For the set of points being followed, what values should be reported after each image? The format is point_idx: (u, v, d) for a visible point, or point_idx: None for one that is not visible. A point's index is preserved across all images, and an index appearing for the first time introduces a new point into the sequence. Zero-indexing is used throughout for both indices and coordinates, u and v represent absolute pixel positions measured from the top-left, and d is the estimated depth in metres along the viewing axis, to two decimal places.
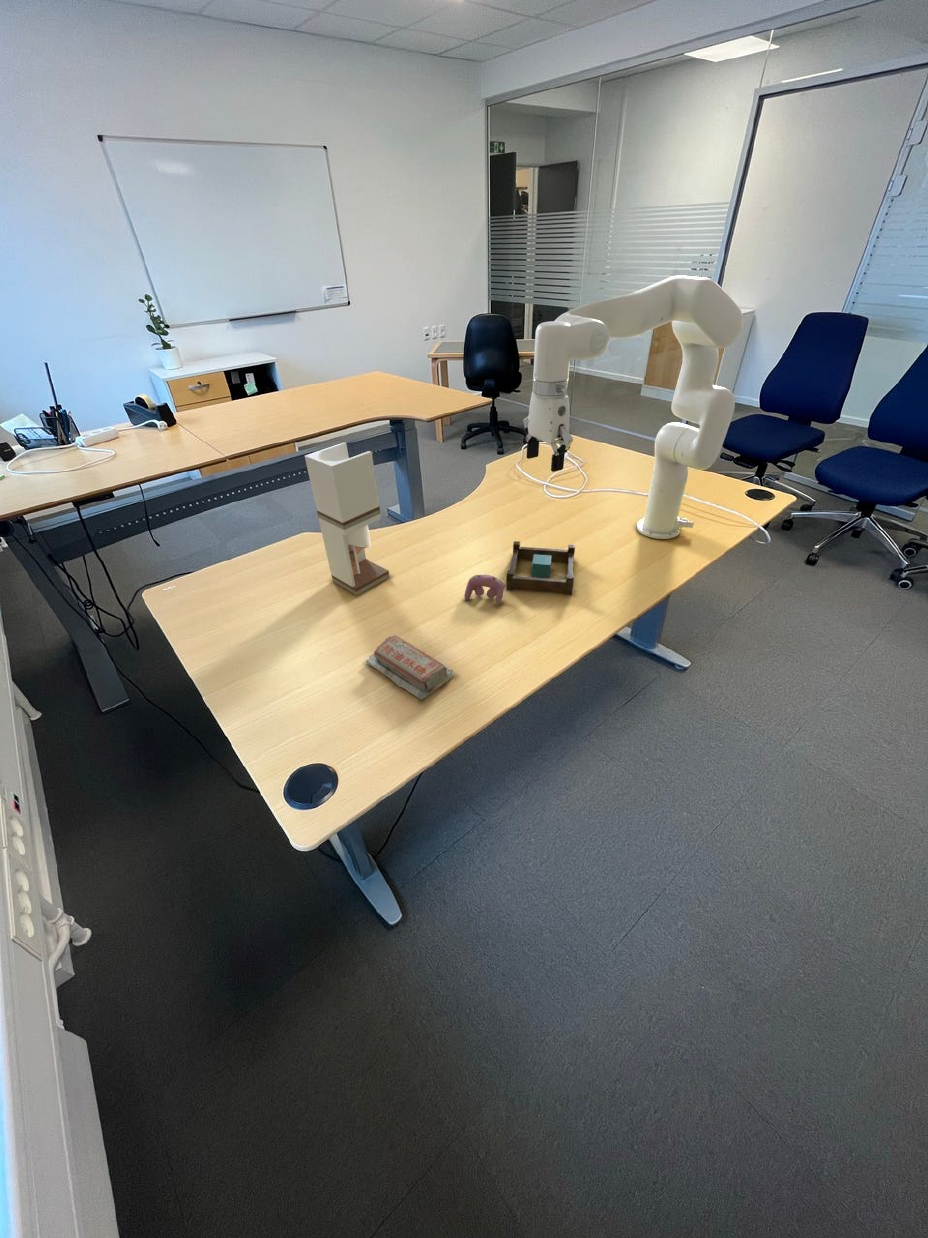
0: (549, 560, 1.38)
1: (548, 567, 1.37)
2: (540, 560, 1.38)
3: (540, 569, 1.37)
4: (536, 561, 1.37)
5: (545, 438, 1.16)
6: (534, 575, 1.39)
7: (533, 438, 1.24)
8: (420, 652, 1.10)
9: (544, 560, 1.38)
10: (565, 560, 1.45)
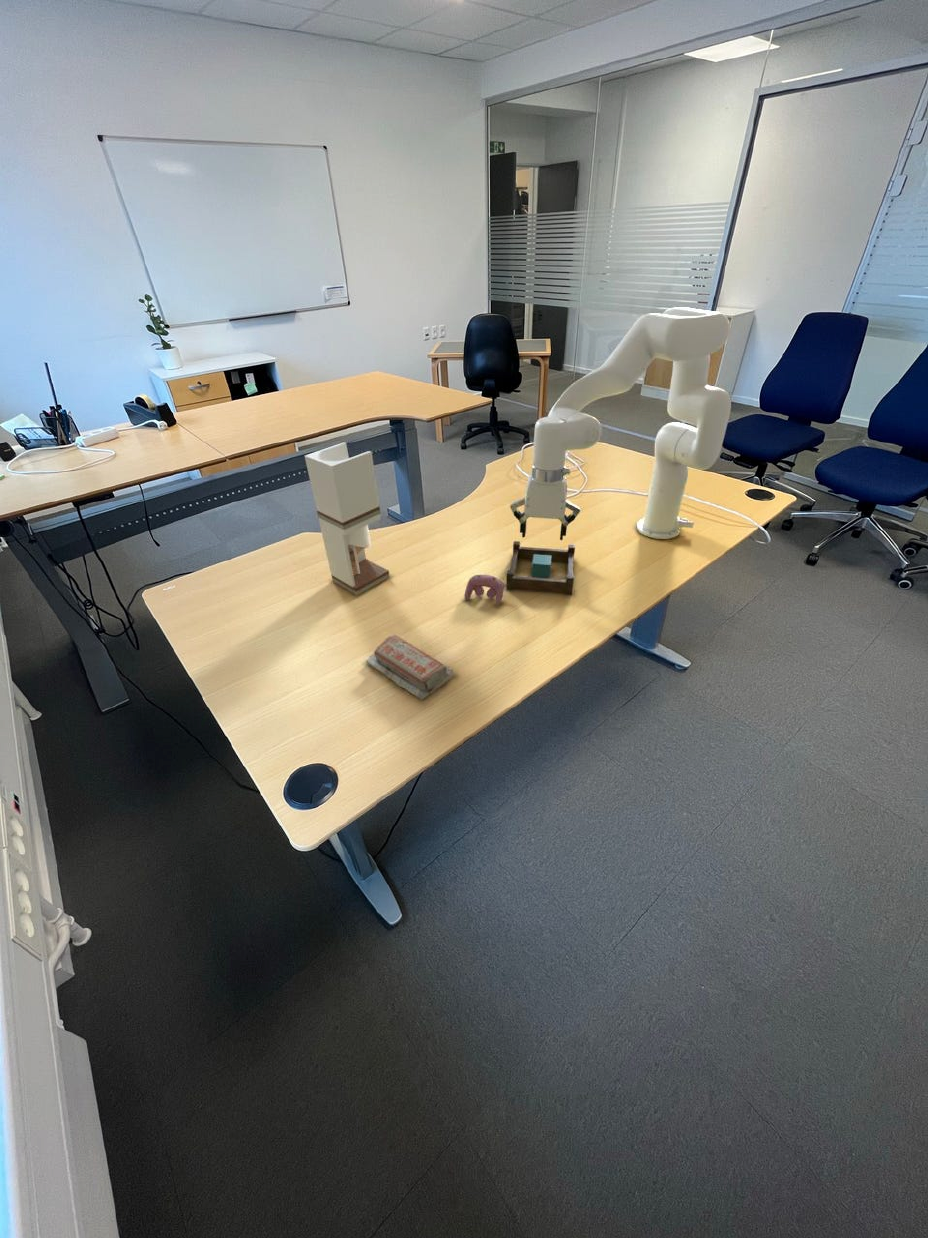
0: (549, 560, 1.38)
1: (548, 567, 1.37)
2: (540, 560, 1.38)
3: (540, 569, 1.37)
4: (536, 561, 1.37)
5: (553, 515, 1.27)
6: (534, 575, 1.39)
7: None
8: (420, 652, 1.11)
9: (544, 560, 1.38)
10: (565, 560, 1.45)
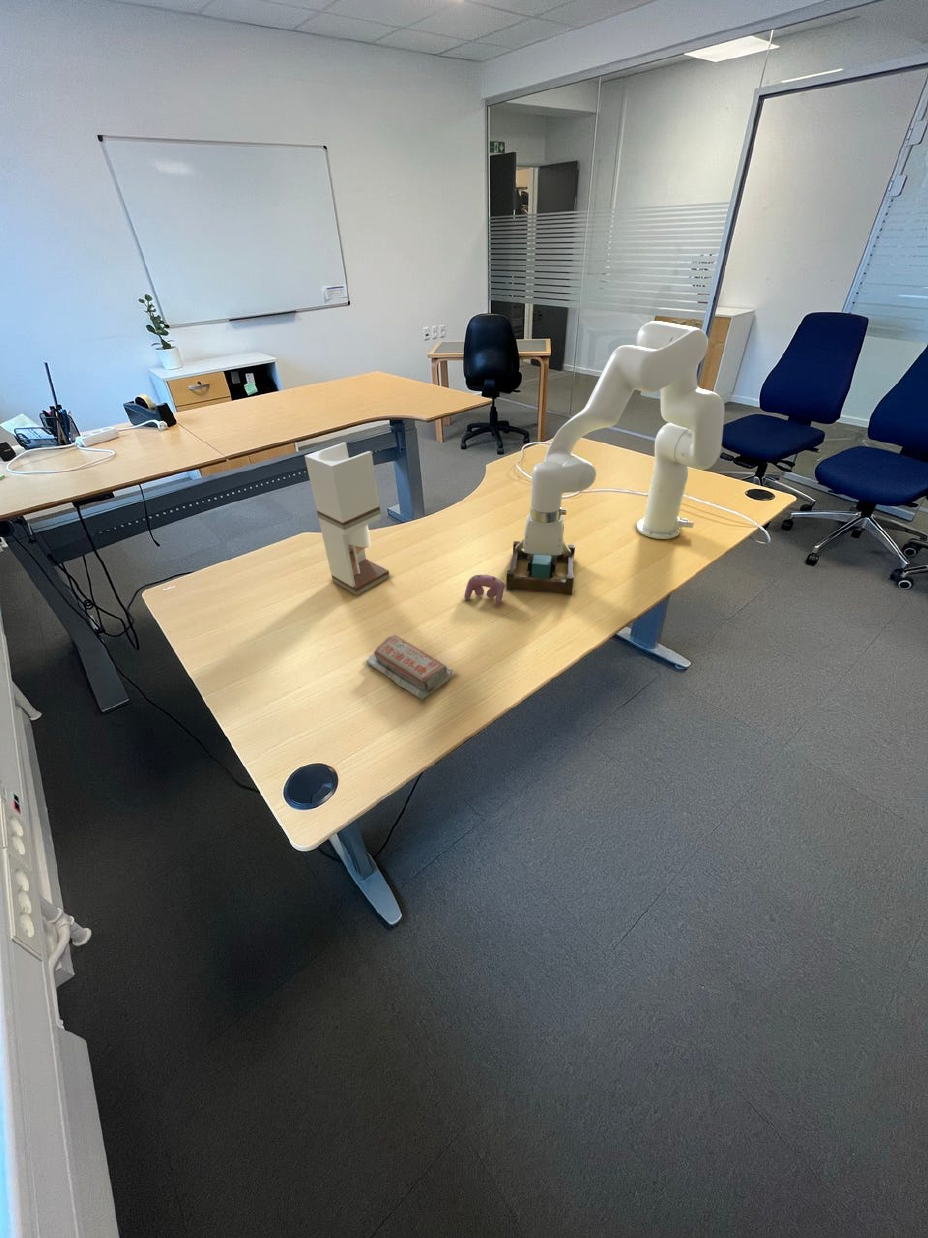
0: (549, 560, 1.38)
1: (548, 567, 1.37)
2: (540, 560, 1.38)
3: (540, 569, 1.37)
4: (536, 561, 1.37)
5: (551, 552, 1.34)
6: (534, 575, 1.39)
7: (531, 558, 1.39)
8: (420, 652, 1.11)
9: (544, 560, 1.38)
10: (565, 560, 1.45)
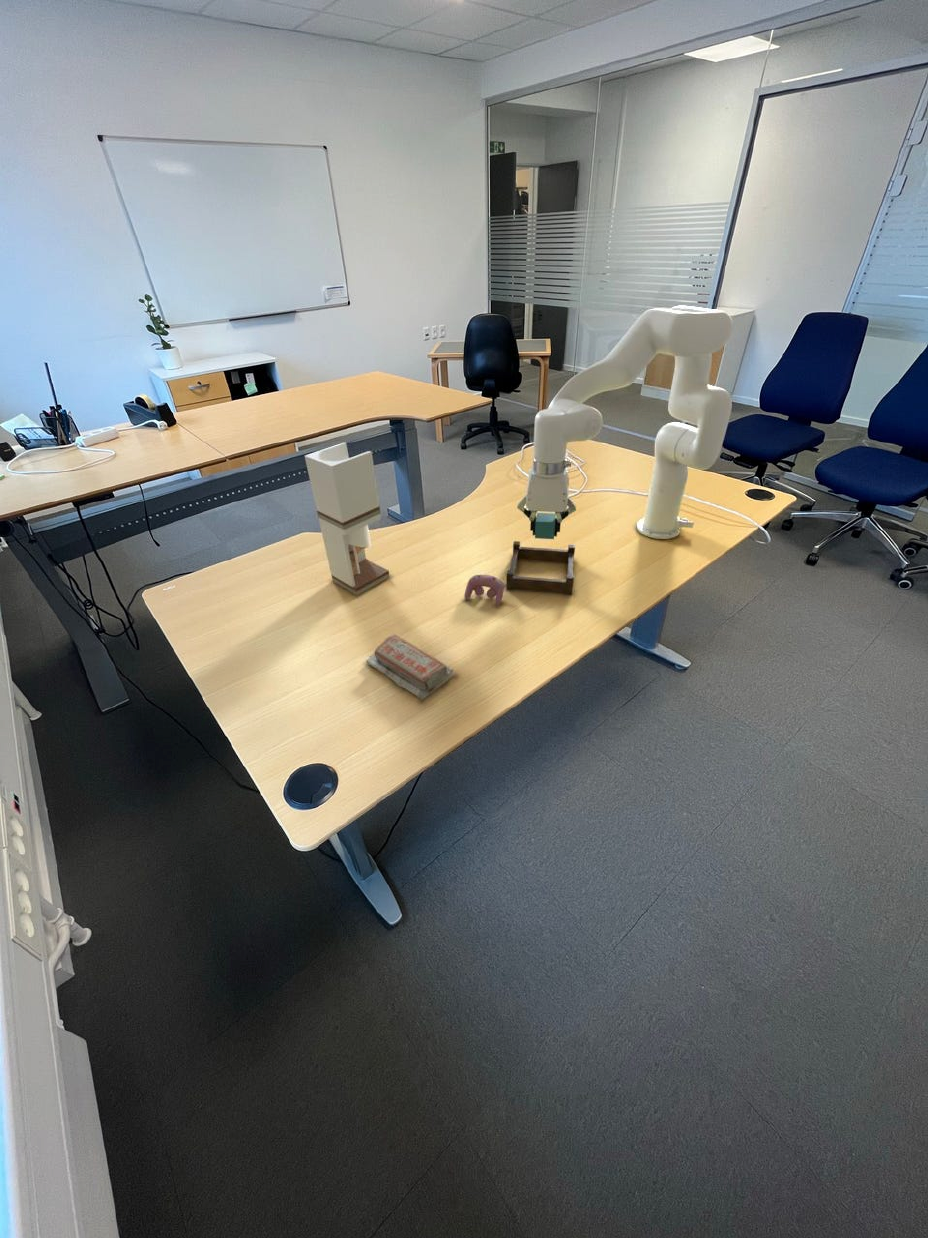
0: (553, 518, 1.30)
1: (552, 525, 1.29)
2: (544, 518, 1.30)
3: (544, 528, 1.30)
4: (540, 519, 1.30)
5: (555, 508, 1.27)
6: (538, 534, 1.32)
7: (535, 516, 1.31)
8: (420, 652, 1.11)
9: (548, 517, 1.31)
10: (565, 560, 1.45)
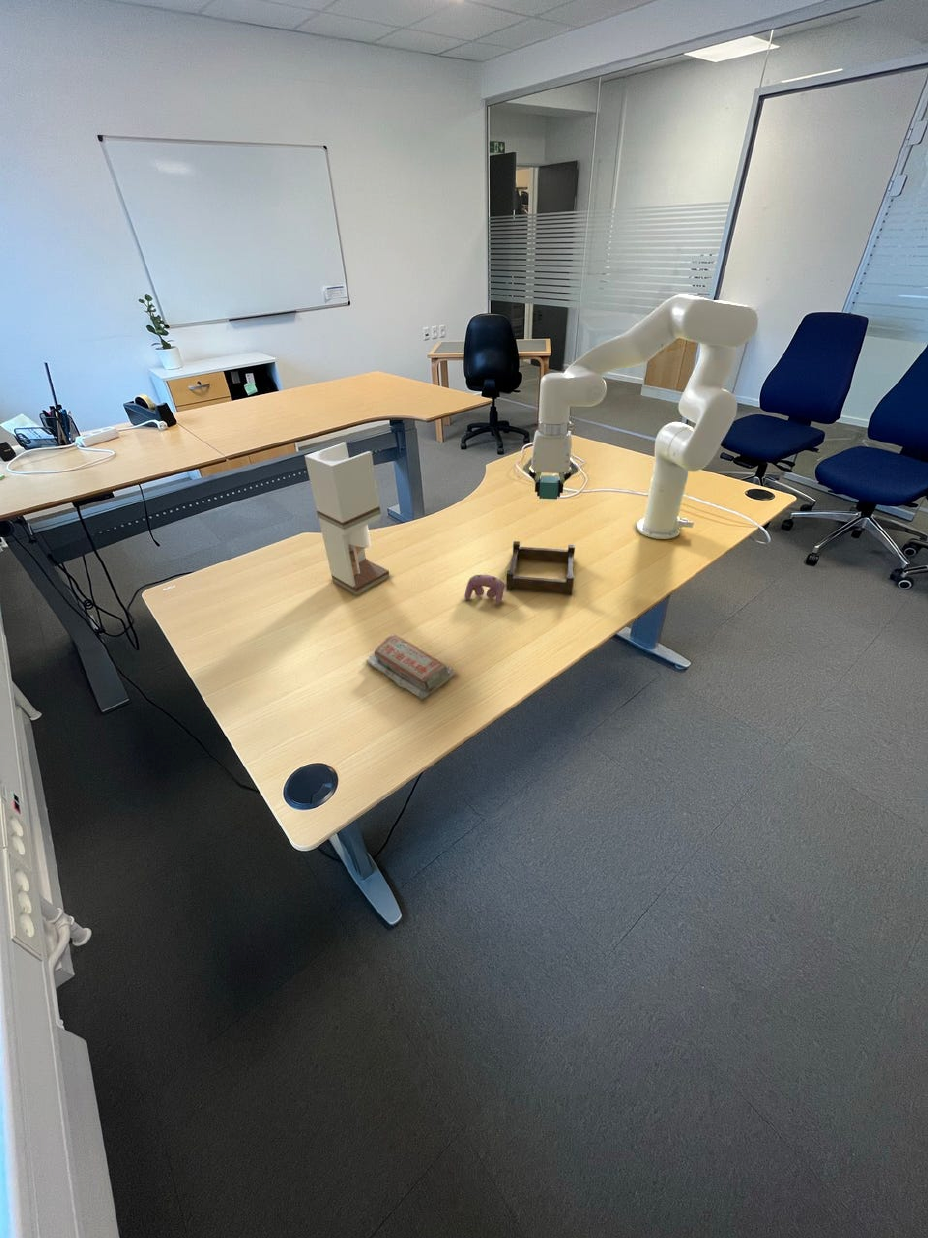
0: (557, 479, 1.39)
1: (556, 485, 1.37)
2: (548, 479, 1.39)
3: (548, 488, 1.38)
4: (544, 480, 1.38)
5: (559, 469, 1.35)
6: (542, 495, 1.40)
7: (539, 478, 1.39)
8: (420, 652, 1.11)
9: (551, 479, 1.39)
10: (565, 560, 1.45)
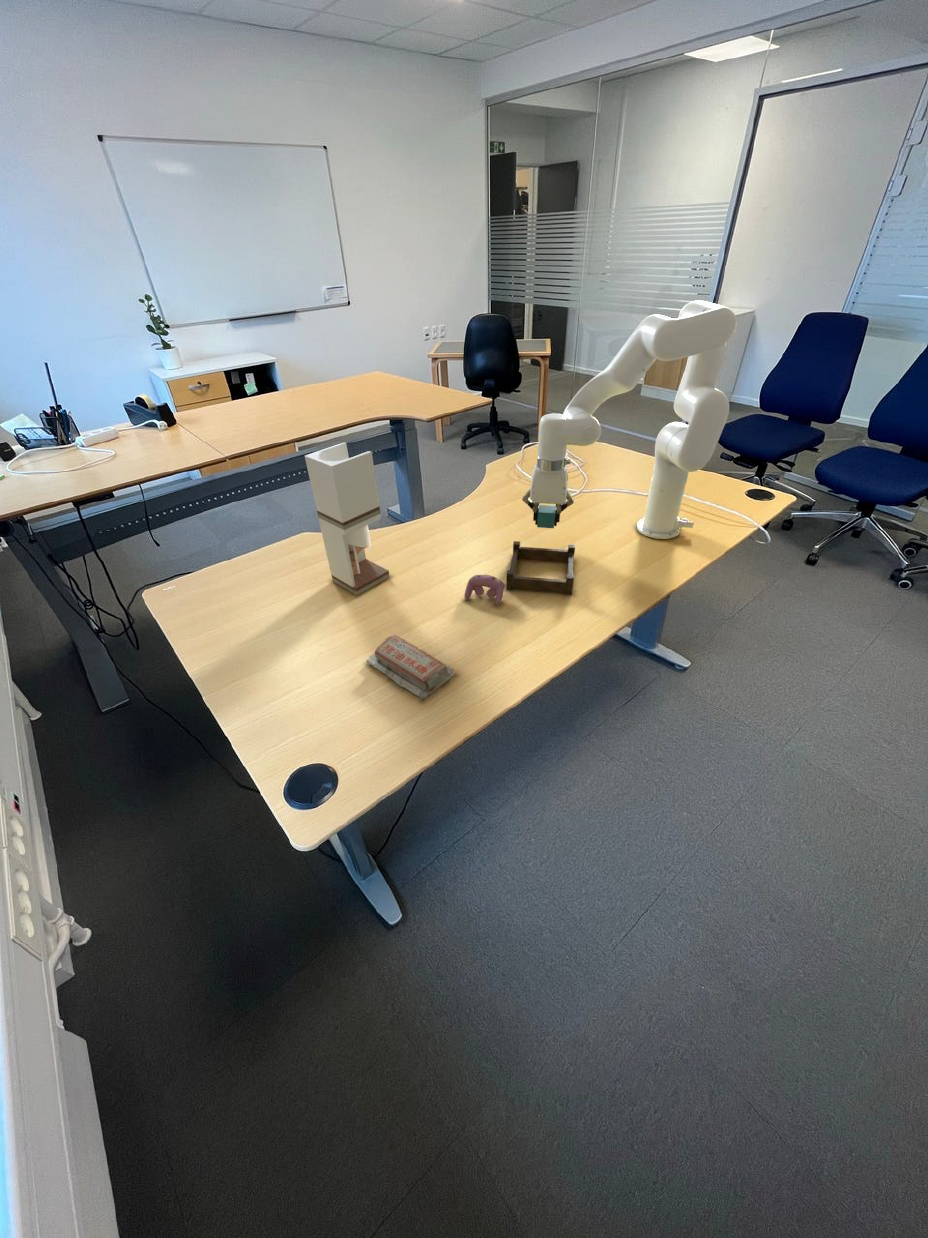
0: (554, 509, 1.48)
1: (553, 515, 1.47)
2: (545, 509, 1.48)
3: (546, 518, 1.48)
4: (542, 510, 1.47)
5: (556, 501, 1.44)
6: (540, 524, 1.49)
7: (537, 508, 1.49)
8: (421, 651, 1.11)
9: (549, 509, 1.48)
10: (565, 560, 1.45)
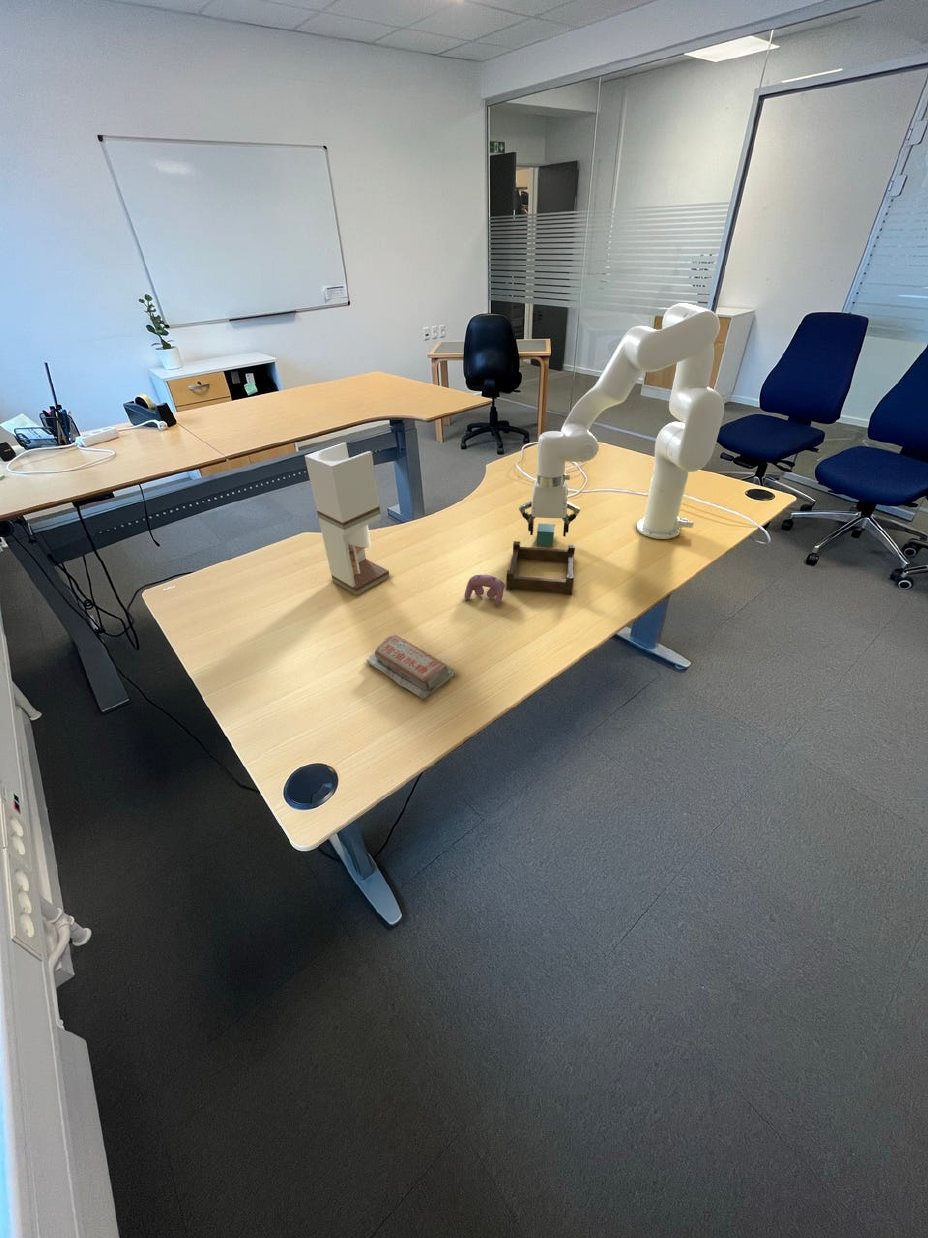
0: (552, 528, 1.52)
1: (551, 534, 1.50)
2: (544, 528, 1.52)
3: (545, 537, 1.51)
4: (541, 529, 1.51)
5: (557, 515, 1.47)
6: (539, 542, 1.53)
7: None
8: (421, 651, 1.11)
9: (547, 528, 1.52)
10: (565, 560, 1.45)
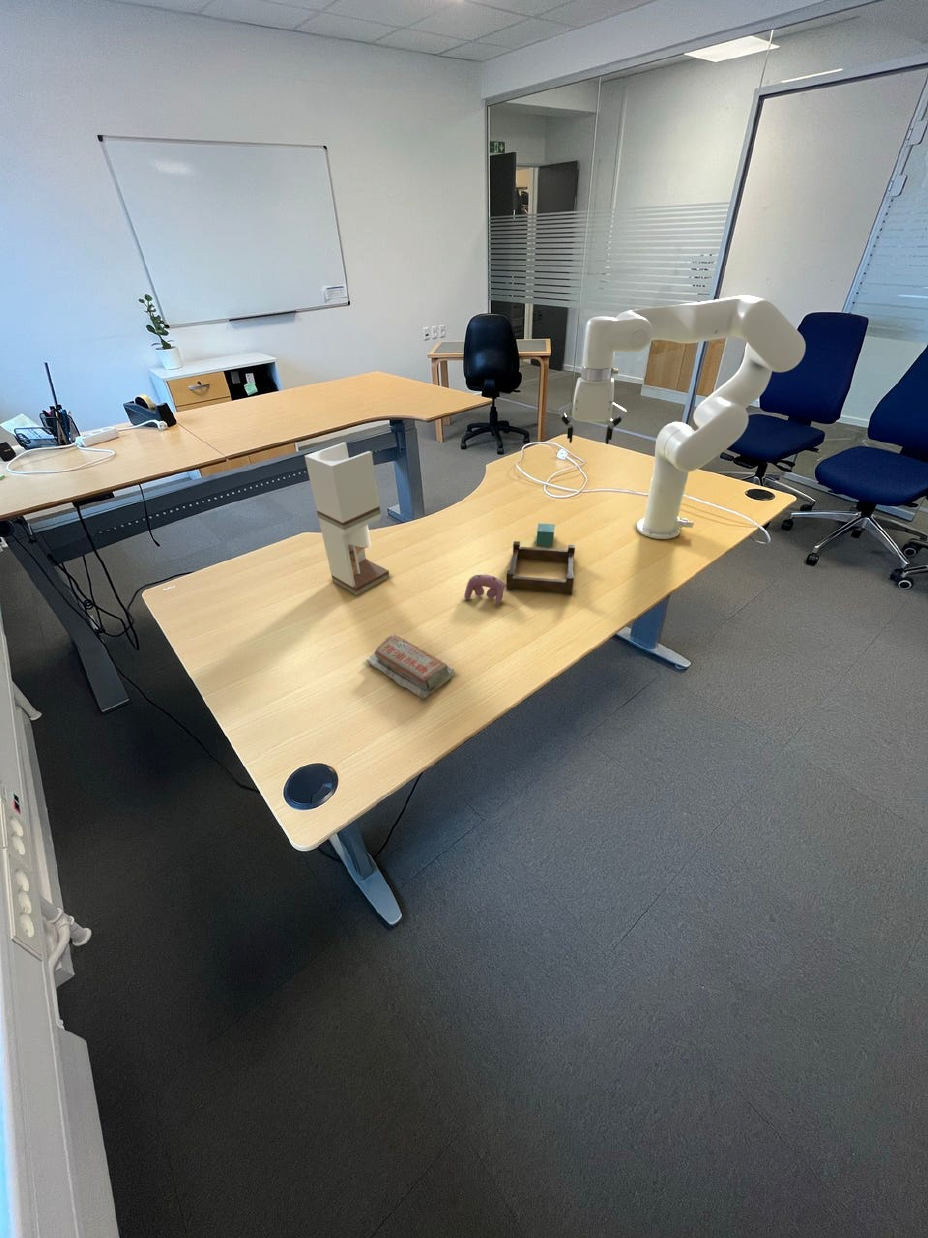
0: (552, 528, 1.52)
1: (551, 534, 1.50)
2: (544, 528, 1.52)
3: (545, 537, 1.51)
4: (541, 529, 1.51)
5: (601, 417, 1.34)
6: (539, 542, 1.53)
7: None
8: (421, 651, 1.11)
9: (547, 528, 1.52)
10: (565, 560, 1.45)
